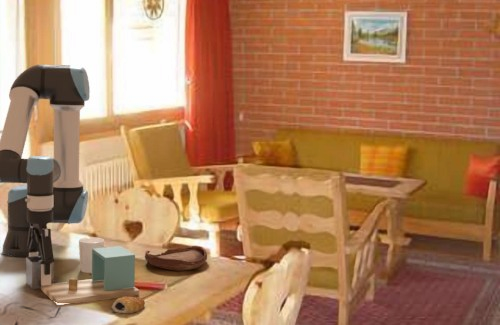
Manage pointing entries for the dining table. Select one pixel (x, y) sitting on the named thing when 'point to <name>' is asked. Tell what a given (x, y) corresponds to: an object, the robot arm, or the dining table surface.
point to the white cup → (88, 252)
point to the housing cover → (113, 267)
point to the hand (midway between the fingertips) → (39, 279)
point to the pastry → (128, 305)
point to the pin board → (84, 291)
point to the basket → (179, 258)
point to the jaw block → (36, 272)
